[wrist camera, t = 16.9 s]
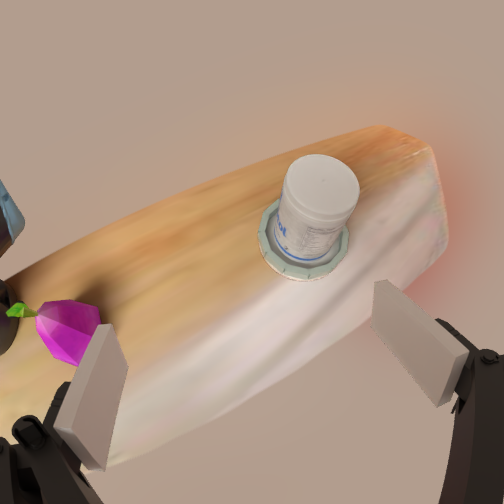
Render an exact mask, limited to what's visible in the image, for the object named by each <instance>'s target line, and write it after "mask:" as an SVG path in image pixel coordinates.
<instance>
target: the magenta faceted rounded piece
mask: <svg viewBox="0 0 504 504" xmlns="http://www.w3.org/2000/svg"><path fill="white" fill-rule="evenodd" d="M6 314H7V315H8V317H9V318H17V317H21V316H22V317H23V318H25V317H35V320H36V329H37V332H38V334H39V335H40V337H41V338H42V340H43V341H44V343H45V345H46V346H47V348H48V349H49V351H50V352H51V354H52V355H53V357H54V358H56V359H59V360H62V361H64V362H67V363H69V364H72V365H75V366H77V367H78V366H79V364H80V362H81V359H82V357H83V355H84V353H85V351H86V349H87V347H88V345H89V342H90V340H91V338H92V336H93V334H94V332H95V330H96V328H97V326H98V325H101V320H100V315H99V310H98V307H96V306H92V305H89V304H85V303H81V302H77V301H73V300H70V299H69V300H60V301H50V302H45V303H44V304H43V305H42V306H41V307H40V309H39V310H38V311H37V312H36V311H33V310H31V309H29V308H28V307H27V306H26V304H25V303H24V302H23V301H18V302H17V303H16V304H14V305H13V306H12V307H11V308H10V309H9V310H8V311H7V312H6Z"/></svg>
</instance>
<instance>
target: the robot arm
mask: <svg viewBox="0 0 504 504" xmlns="http://www.w3.org/2000/svg"><path fill="white" fill-rule="evenodd" d="M24 226H25V220H24V217H23V215H22V213H21V212H20V211H19V209H18V207H17V206H16V205H15V203H14V201H13V199H12V198H11V196H10V195H9V193H8V192H7V190H6V188H5V186H4V185H3V183H2V181H1V180H0V258H1V256H2V255H3V254H4V253H5V252H6V251H7V249H8V248H9V247H10V246H11V245H13V243H14V241H15V239H16V238H17V236H18V235H19V234H20V233H21V232H22V230H23V229H24ZM17 302H18V301H17V298H16V295H15V293H14V291H13V289H12V288H11V287H10V286H9V285H8V284H7V283H5V282H4V281H2V280H1V279H0V355H2V354H3V353H4V352H5V351H6V350H7V349H8V348H9V347H10V345H11V343H12V342H13V339H14V337H15V334H16V331H17V327H18V320H19V317H17V318H9V317H8V315H7V314H6V312H7V311H8V310H9V309H10V308H11V307H12V306H13V305H14V304H16V303H17ZM371 328H372V329H373V331H374V332H375V333H376V334H377V335H378V337H379V338H380V339H381V340H382V341H383V342H384V344H385V345H386V346H387V347H388V348H389V350H390V351H391V352H392V353H393V354H394V355H395V357H396V358H397V359H398V361H399V362H400V363H401V364H402V365H403V367H404V368H405V369H406V370H407V371H408V373H409V374H410V375H411V376H412V378H413V379H414V380H415V381H416V383H417V384H418V385H419V386H420V387H421V389H422V390H423V391H424V393H425V394H426V395H427V396H428V398H429V399H430V400H431V401H432V403H433V404H434V405H435V406H436V407H439V406H441V405H443V404H445V403H447V402H449V401H450V400H451V398H452V395H453V393H454V391H455V392H456V393H457V394H458V398H457V400H456V403H455V405H454V407H453V409H452V412H451V413H452V414H453V413H454V411H455V409H456V412H455V420H454V429H453V437H452V442H451V449H450V455H449V460H448V465H447V470H446V475H445V480H444V484H443V488H442V492H441V496H440V500H439V504H503V497H504V355H499V354H498V353H496V352H495V351H493V350H489V349H482V350H479V349H477V348H476V347H475V346H474V345H473V344H472V343H471V342H470V341H468V340H467V339H466V338H465V337H464V336H463V335H460V333H459V332H458V331H457V330H455V329H454V328H453V327H452V326H451V325H450V324H449V323H448V322H445V321H443V320H441V319H439V318H438V319H433V318H432V317H431V316H430V315H429V314H427V313H426V312H425V311H424V310H423V309H422V308H420V307H419V306H418V305H417V304H416V303H415V302H413V301H412V300H411V299H410V298H409V297H407V296H406V295H405V294H404V293H403V292H401V291H400V290H399V289H398V288H397V287H395V286H394V285H393V284H392V283H390V282H389V281H388V280H383V281H379V282H375V284H374V297H373V308H372V318H371ZM127 371H128V364H127V362H126V359H125V357H124V354H123V352H122V349H121V347H120V344H119V342H118V339H117V336H116V334H115V331H114V328H113V325H112V324H101V325H98V326H97V328H96V330H95V332H94V334H93V336H92V338H91V340H90V342H89V345H88V347H87V349H86V351H85V353H84V355H83V357H82V359H81V362H80V364H79V366H78V368H77V370H76V373H75V375H74V377H73V379H72V382H64V383H63V384H62V385H61V386H60V387H59V388H58V389H57V392H56V394H55V396H54V400H53V401H52V403H51V407H49V410H48V412H47V414H46V417H45V419H44V422H43V424H42V423H41V422H40V421H39V419H38V418H37V417H35V416H33V415H26V416H23V417H21V418H19V419H18V420H17V421H16V422H15V423H14V425H13V427H12V435H13V436H14V438H15V439H16V440H17V441H18V443H19V444H14V445H10V444H9V443H8V441H7V440H6V439H5V438H3V437H0V504H104V503H103V502H102V501H101V499H100V498H99V497H98V495H97V494H96V492H95V491H94V489H93V488H92V487H91V485H90V484H89V482H88V480H87V479H86V477H85V476H84V474H83V473H82V472H81V471H80V466H81V462H82V464H83V465H84V466H85V467H86V468H87V469H88V470H93V471H105V470H106V464H107V459H108V454H109V448H110V444H111V439H112V434H113V429H114V425H115V420H116V416H117V411H118V407H119V403H120V399H121V395H122V391H123V387H124V383H125V379H126V375H127Z"/></svg>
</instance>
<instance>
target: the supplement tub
mask: <svg viewBox="0 0 504 504" xmlns="http://www.w3.org/2000/svg"><path fill="white" fill-rule="evenodd" d="M359 194H360V187H359V183H358V180H357V178H356V176H355V174H354V173H353V172H352V170H351V169H350V168H349V167H348V166H347V165H345V164H344V163H343V162H341V161H339V160H338V159H336V158H333V157H331V156H327V155H322V154H310V155H306V156H303V157H300V158H298V159H297V160H295V161H294V162H293V163H292V164H291V165H290V167H289V169H288V171H287V174H286V176H285V179H284V183H283V187H282V192H281V197H280V202H279V206H278V211H277V216H276V221H275V226H274V239H275V242H276V244H277V246H278V248H279V249H280V251H281V252H282V253H283V254H284V255H285V256H286V257H288V258H290V259H292V260H294V261H297V262H301V263H311V262H315V261H318V260H320V259H321V258H323V257H324V256H325V255H326V254H327V253H328V252H329V250H330V249H331V247H332V245H333V244H334V242H335V240H336V239H337V237H338V236H339V234H340V232H341V231H342V229H343V227H344V226H345V224H346V222H347V221H348V219H349V217H350V216H351V214H352V212H353V210H354V209H355V207H356V204H357V201H358V198H359Z"/></svg>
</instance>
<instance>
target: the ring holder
mask: <svg viewBox="0 0 504 504" xmlns="http://www.w3.org/2000/svg"><path fill="white" fill-rule="evenodd" d="M279 202H280V199H278V200H276V201H275V202H274V203H273V204H272V205H271V206H269V207H268V208H267V209H266V210H265V211H264V212H263V215H262V219H261V223H260V226H259V230H258V240H259V247H260V251H261V254H262V256H263V258H264V259H265V261H266V262H267V264H268V265H269V266H270V267H271V268H272V269H273V270H274V271H276V272H277V273H278V274H280V275H282V276H284V277H286V278H288V279H291V280H295V281H314V280H318V279H320V278H323V277H325V276H326V275H328V274H329V273H331V272H332V271H333V270H334V269H335V267H336V266H337V265H338V264H339V262H340V261H341V260H342V259H343V258H344V256H345V255H346V253H347V246H348V237H349V233H348V232H349V231H348V229H347V227H346V225H345V226H344V227H343V229H342V231H341V232H340V234H339V236H338V237H337V239H336V240H335V242H334V244H333V245H332V247H331V249H330V250H329V252H328V253H327V254H326V255H325V256H324V257H323V258H321V259H320V260H318V261H315V262H311V263H301V262H297V261H294V260H292V259H290V258H288V257H286V256H285V255H284V254H283V253H282V252H281V251H280V249H279V248H278V246H277V244H276V242H275V239H274V226H275V221H276V216H277V211H278V206H279Z"/></svg>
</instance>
